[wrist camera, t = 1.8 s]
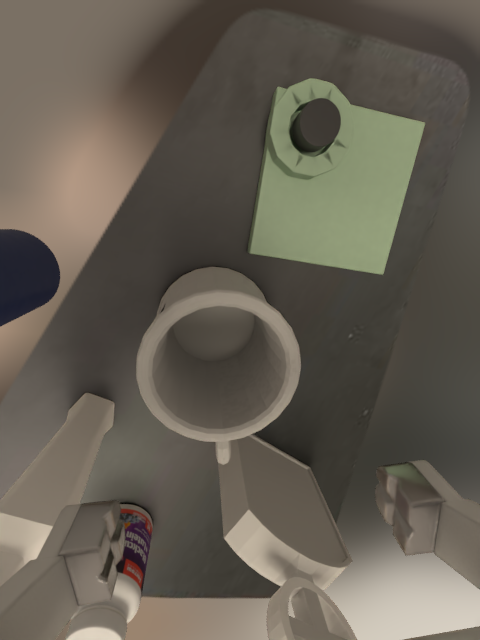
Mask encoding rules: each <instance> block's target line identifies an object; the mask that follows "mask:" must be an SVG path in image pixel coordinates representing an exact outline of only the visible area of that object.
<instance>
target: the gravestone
mask: <svg viewBox="0 0 480 640" xmlns="http://www.w3.org/2000/svg"><path fill="white" fill-rule="evenodd" d="M230 443H231V457H230V460H229V462H228V463H226V464H224V465H223V464H221V463H219V462H218V465H219V478H220V492H221V505H222V519H223V533H224V539H225V540H226V541H227V543H228V544H229V545H230V546H231V548H232V549H233V550H234V551H235V552H236V554H237V555H238V556H239V557H240V558H241V559H243V560H244V561H245V562H246V563H247V564H248V565H249V566H250V567H251V568H253V569H254V570H255V571H257V572H258V573H259V574H261V575H262V576H264V577H266V578H267V579H269V580H271V581H272V582H274V583H276V584H278V585H280V586H281V587H280V588H279V589H278V590H277V592H276V593H275V594H274V595H273V596H272V598H271V600H270V602H269V605H268V610H267V631H268V638H269V640H357V639H356V637H355V635H354V633H353V631H352V629H351V627H350V625H349V624H348V622H347V620H346V619H345V617H344V616H343V614H342V613H341V611H340V610H339V609H338V607H337V606H336V605H335V603H334V602H333V601H332V600H331V599H330V598H329V596H327V594H325V593H324V592H323V591H324V590H325V589H326V588H327V587H328V586H329V585H330V584H331V583H332V582H333V581H334V580H335V579H336V578H337V577H338V576H339V575H340V573H341V572H342V571H343V570H344V569H345V568H346V567H347V566H348V565H349V564H350V563H351V562H352V559H351V557H350V554H349V552H348V550H347V548H346V546H345V543H344V541H343V539H342V537H341V535H340V532H339V530H338V528H337V526H336V524H335V521H334V519H333V517H332V515H331V512H330V510H329V508H328V506H327V504H326V501H325V499H324V497H323V495H322V493H321V490H320V488H319V486H318V484H317V482H316V479H315V477H314V475H313V473H312V471H311V468H310V467H309V466H307V465H305V464H304V463H302V462H300V461H298V460H297V459H295V458H293V457H291V456H290V455H288V454H286V453H285V452H283V451H281V450H279V449H278V448H276V447H274V446H272V445H271V444H269V443H267V442H265V441H264V440H262V439H260V438H259V437H257V436H255V435H253V434H251V435H248V436H246V437H244V438H240V439H235V440H230ZM289 600H291V602H292V607H293V610H294V614H295V618H293V617H291V616H289V615H288V602H289Z"/></svg>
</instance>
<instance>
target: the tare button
mask: <svg viewBox="0 0 480 640" xmlns="http://www.w3.org/2000/svg"><path fill="white" fill-rule="evenodd" d="M340 126H341V116H340V112H339V110H338V108H337V106H336V105H335V104H334V103H333V102H332V101H330V100H328V99H325V98H317V99H314V100H312V101H310V102H309V103H308V104H307V105H306V106H305V107H304V108H303V109H302V111H301V112H300V113H299V114H298V115H297V117H296V118H295V120H294V123H293V126H292V135H293V139H294V141H295V143H296V145H297V146H298V147H299V148H300V149H301V150H303V151H305V152H316V151H319V150H320V149H322V148H323V147H325V146H326V145H328V144H330V143H331V142H332V141H333V140H334V139H335V138H336V137H337V135H338V133H339V130H340Z"/></svg>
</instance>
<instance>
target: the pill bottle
mask: <svg viewBox="0 0 480 640" xmlns="http://www.w3.org/2000/svg"><path fill="white" fill-rule="evenodd" d="M120 506H121V513H120V516H119V518H120V519H121V520H123V521H124V525H125V534H126V538H125V548H124V552H123V556H122V559H121V560H120V561H119V562H118V563H117V565H116V568H117V572H118V576H117V580H116V584H115V588H114V591H113V595H112V599H111V600H110V601H105V602H99V603H94V604H89V605H83V606H78V610H77V611H76V613H75V614H74V615H73V617H72V618H71V619H72V620H71V623H70V626H69V629H68V632H67V635H66V638H65V640H125V636H126V632H127V623H128V622H129V621H131V619H132V618H133V617H134V616H135V614H136V612H137V611H138V608H139V605H140V601H141V596H142V590H143V584H144V578H145V571H146V565H147V560H148V554H149V548H150V542H151V537H152V529H153V523H152V519H151V517H150V515H149V514H148V513H147V512H146V511H145V510H144V509H142V508H140V507H138V506H135V505H131V504H120Z"/></svg>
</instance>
